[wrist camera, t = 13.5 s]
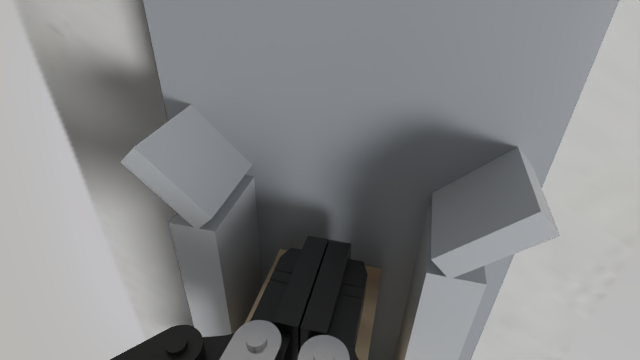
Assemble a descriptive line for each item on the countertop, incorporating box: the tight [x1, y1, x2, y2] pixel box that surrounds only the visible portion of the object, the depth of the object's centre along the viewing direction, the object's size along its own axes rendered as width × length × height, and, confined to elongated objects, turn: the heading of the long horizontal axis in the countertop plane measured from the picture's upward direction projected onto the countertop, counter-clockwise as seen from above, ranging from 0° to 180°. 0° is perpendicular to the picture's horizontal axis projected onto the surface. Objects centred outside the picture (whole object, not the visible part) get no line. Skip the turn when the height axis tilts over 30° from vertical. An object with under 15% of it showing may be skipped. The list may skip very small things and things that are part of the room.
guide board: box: [120, 0, 619, 360], centre depth 14 cm, size 21×12×4 cm, turn 179°
